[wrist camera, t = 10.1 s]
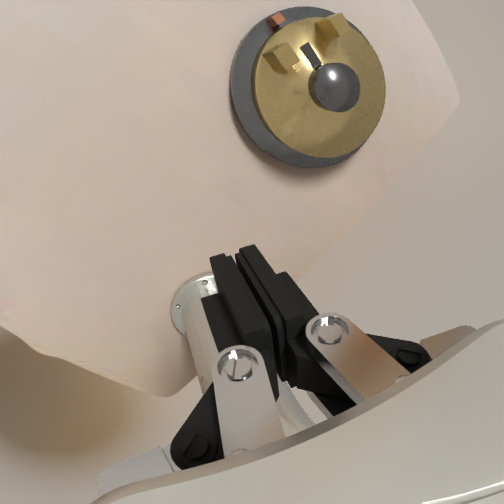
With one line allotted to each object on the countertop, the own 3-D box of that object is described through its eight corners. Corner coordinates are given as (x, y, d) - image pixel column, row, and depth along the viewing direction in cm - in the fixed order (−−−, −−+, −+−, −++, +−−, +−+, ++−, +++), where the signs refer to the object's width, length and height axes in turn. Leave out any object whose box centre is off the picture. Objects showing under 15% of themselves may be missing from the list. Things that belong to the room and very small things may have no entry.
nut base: (378, 153, 43) (392, 158, 40) (243, 180, 38) (252, 188, 36) (369, 15, 31) (384, 13, 28) (217, 11, 27) (224, 4, 24)
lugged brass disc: (390, 108, 38) (417, 114, 33) (302, 180, 39) (323, 194, 35) (332, 0, 28) (358, -8, 23) (219, 67, 29) (232, 62, 24)
